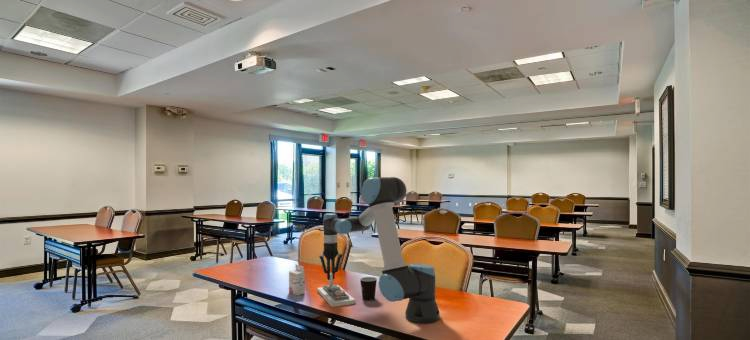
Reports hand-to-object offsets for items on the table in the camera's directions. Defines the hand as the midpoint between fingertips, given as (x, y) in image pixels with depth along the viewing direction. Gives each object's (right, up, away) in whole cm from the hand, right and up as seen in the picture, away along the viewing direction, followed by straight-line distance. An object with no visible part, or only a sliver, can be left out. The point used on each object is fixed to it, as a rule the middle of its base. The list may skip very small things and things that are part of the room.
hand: (330, 285), depth 207 cm
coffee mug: (+21, -4, -9) cm, 23 cm away
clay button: (+6, 0, -15) cm, 16 cm away
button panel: (+3, -4, -7) cm, 9 cm away
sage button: (0, -2, 0) cm, 2 cm away
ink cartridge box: (-19, -5, +1) cm, 19 cm away
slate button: (+3, 0, -7) cm, 8 cm away
